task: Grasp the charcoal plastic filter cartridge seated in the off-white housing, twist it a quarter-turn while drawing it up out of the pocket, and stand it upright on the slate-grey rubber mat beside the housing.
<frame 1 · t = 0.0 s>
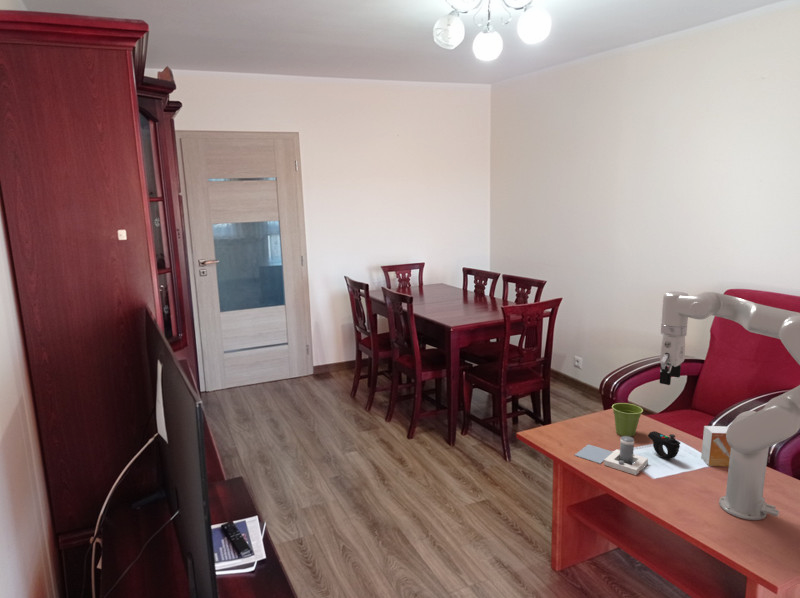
hand: (669, 380, 178), 37 cm above the table, tool pointing down, fingers open, 9 cm apart
controller: (662, 457, 203), on the table
mat: (594, 454, 206), on the table
cartridge: (625, 464, 198), resting in housing
plant pot: (625, 434, 223), on the table
housing: (625, 464, 198), on the table
small box: (716, 463, 198), on the table
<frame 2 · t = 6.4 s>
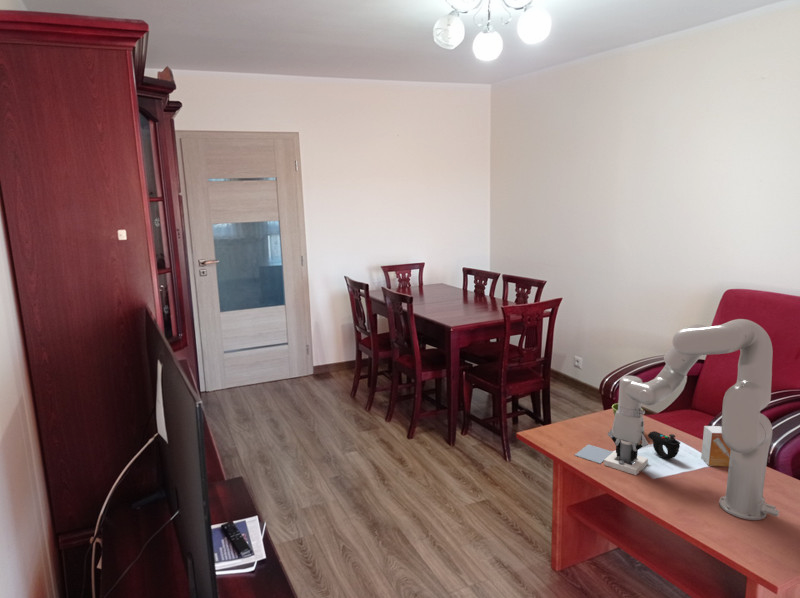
hand: (626, 456, 197), 3 cm above the table, tool pointing down, fingers closed on cartridge, 4 cm apart
cartridge: (625, 464, 198), resting in housing, touching gripper
everything else where it was.
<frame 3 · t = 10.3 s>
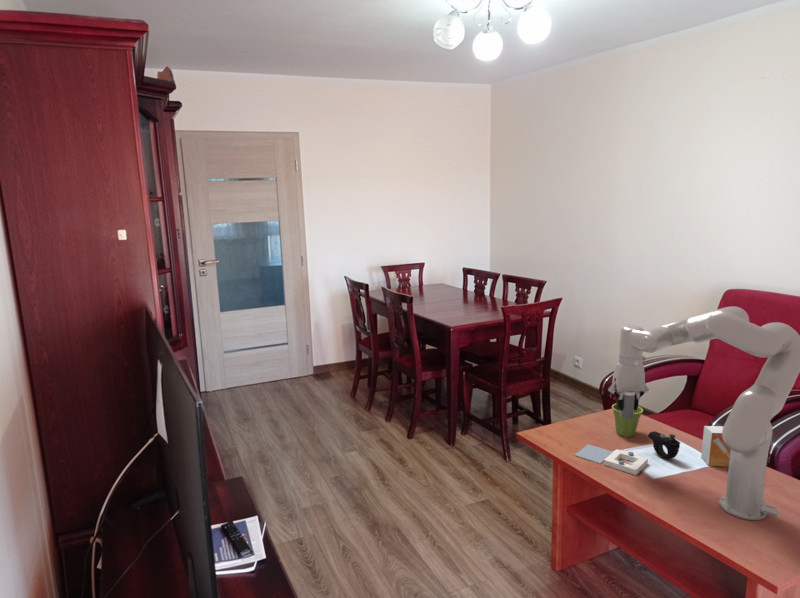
hand: (627, 408, 194), 21 cm above the table, tool pointing down, fingers closed on cartridge, 4 cm apart
cartridge: (626, 416, 195), point 19 cm above the table, touching gripper
everything else where it was.
when the fingers open (5 cm above the table, at t = 14.5 s): cartridge drops 2 cm, resting on mat.
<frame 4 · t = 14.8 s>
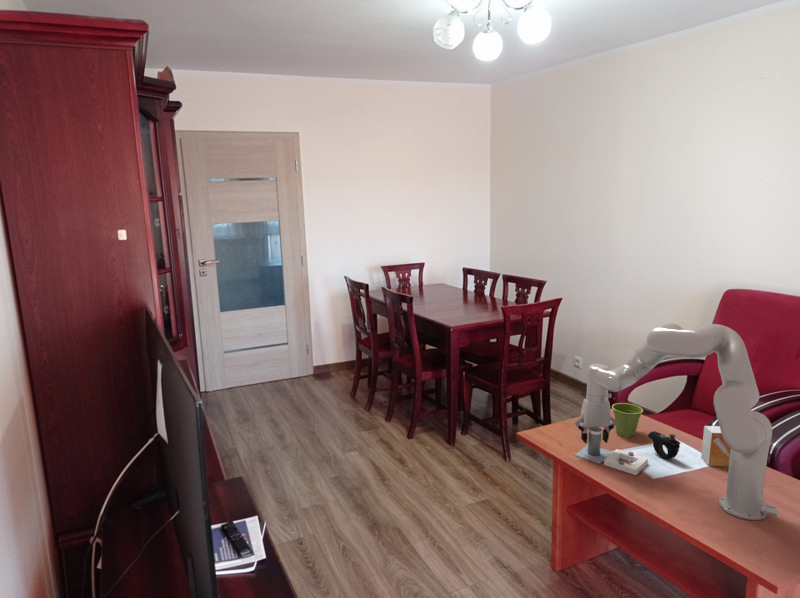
hand: (594, 441, 205), 5 cm above the table, tool pointing down, fingers open, 7 cm apart
cartridge: (593, 453, 206), resting on mat
everything else where it was.
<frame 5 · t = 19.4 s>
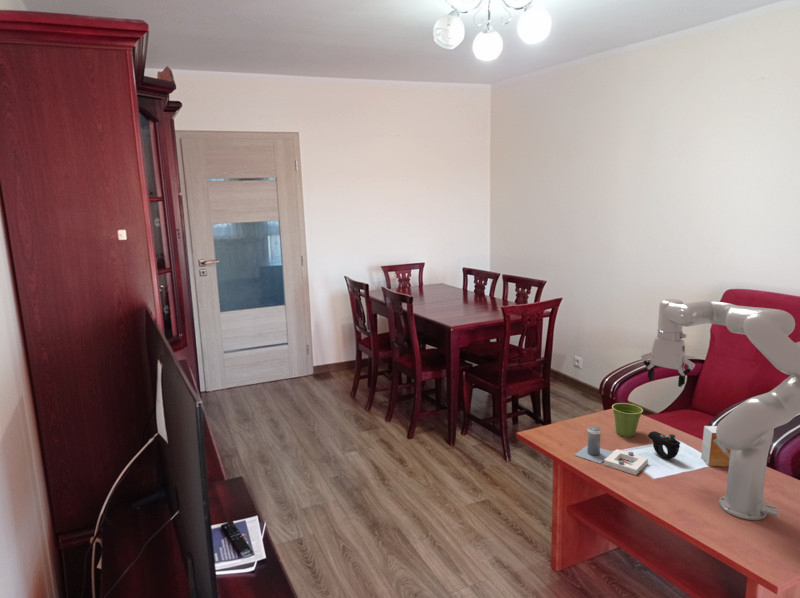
hand: (665, 382, 188), 32 cm above the table, tool pointing down, fingers open, 9 cm apart
nothing on the table moved.
at the end: cartridge 0.1 cm off-centre on the mat, point 0.4 cm above the mat's base; cartridge tilted 2°; the gripper is holding nothing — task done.
